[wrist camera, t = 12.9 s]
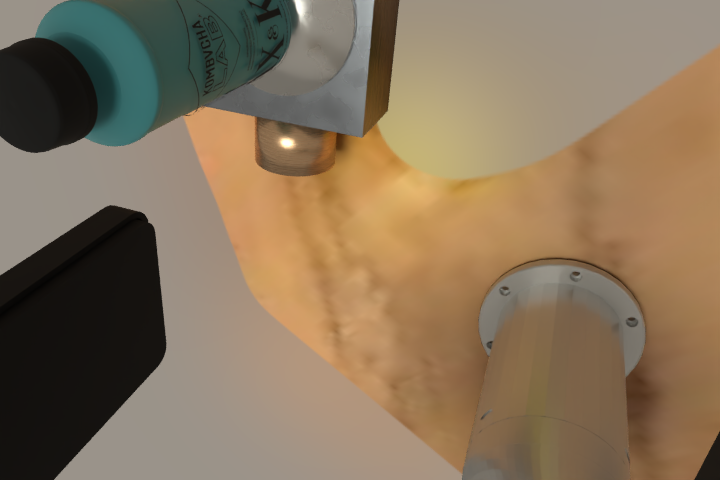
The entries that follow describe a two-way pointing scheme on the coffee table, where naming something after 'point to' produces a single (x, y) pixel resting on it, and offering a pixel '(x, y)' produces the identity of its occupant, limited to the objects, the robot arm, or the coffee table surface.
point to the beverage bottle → (132, 66)
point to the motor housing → (320, 84)
